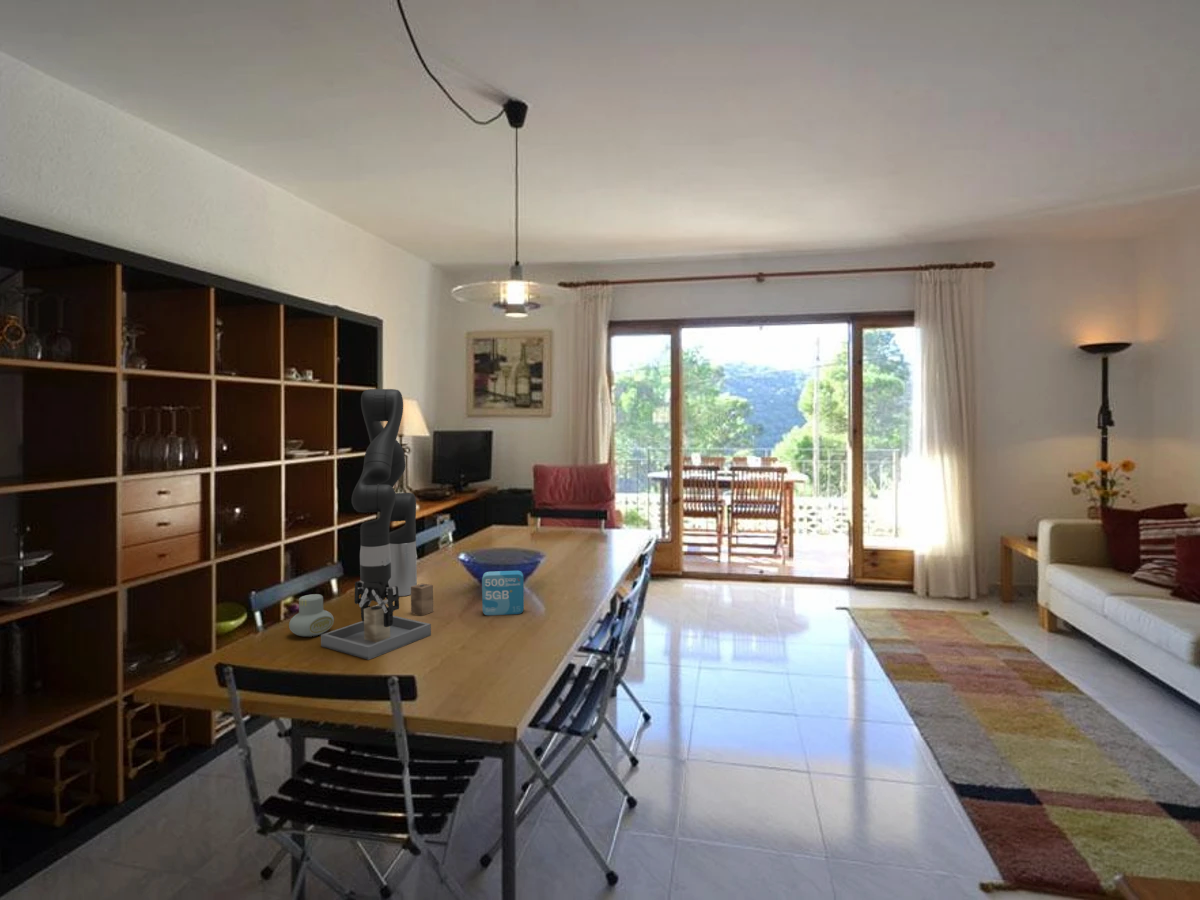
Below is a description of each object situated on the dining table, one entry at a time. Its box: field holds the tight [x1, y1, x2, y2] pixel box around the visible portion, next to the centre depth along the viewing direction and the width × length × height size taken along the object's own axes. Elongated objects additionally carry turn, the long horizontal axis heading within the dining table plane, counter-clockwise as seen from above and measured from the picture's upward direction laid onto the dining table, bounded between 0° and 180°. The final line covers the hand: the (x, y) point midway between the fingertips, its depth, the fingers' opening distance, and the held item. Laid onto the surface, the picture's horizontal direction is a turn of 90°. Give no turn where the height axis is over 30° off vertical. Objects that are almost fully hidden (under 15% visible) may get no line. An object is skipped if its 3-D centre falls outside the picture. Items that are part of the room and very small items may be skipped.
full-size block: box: [410, 583, 434, 616], centre depth 187 cm, size 4×4×8 cm
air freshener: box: [288, 593, 335, 638], centre depth 169 cm, size 11×8×10 cm
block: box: [364, 604, 390, 642], centre depth 163 cm, size 4×4×8 cm
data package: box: [481, 570, 525, 617], centre depth 186 cm, size 12×4×12 cm, turn 98°
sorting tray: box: [320, 615, 432, 661], centre depth 163 cm, size 18×20×3 cm
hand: (377, 623), depth 163 cm, fingers open, 8 cm apart
